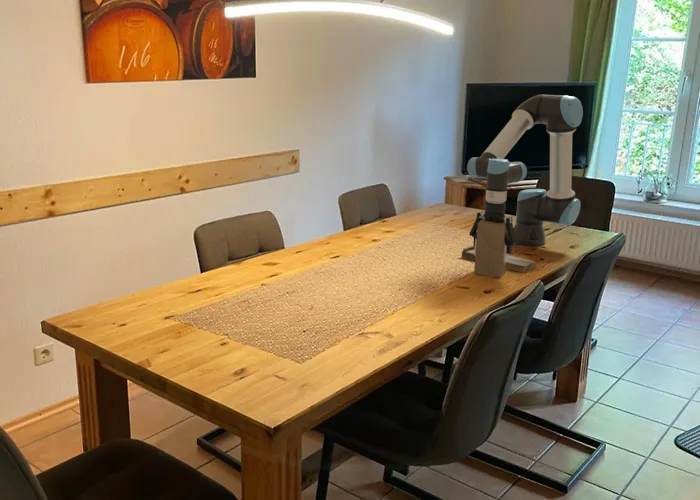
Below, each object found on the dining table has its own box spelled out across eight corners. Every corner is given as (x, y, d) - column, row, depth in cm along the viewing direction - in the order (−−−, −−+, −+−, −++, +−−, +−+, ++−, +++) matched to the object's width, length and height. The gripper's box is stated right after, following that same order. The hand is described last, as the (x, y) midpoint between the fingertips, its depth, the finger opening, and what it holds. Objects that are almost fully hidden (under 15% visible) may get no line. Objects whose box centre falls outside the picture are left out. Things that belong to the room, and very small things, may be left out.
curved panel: (474, 252, 286) (474, 244, 285) (535, 267, 267) (535, 259, 266) (461, 257, 279) (462, 248, 278) (523, 272, 261) (524, 263, 260)
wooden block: (500, 278, 254) (504, 225, 248) (473, 274, 257) (477, 222, 252) (505, 270, 263) (510, 219, 257) (480, 267, 266) (483, 217, 261)
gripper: (462, 197, 258) (458, 253, 264) (519, 208, 242) (514, 267, 248) (473, 195, 263) (469, 250, 269) (530, 205, 247) (524, 263, 253)
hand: (491, 258), depth 258 cm, fingers closed on wooden block, 12 cm apart
